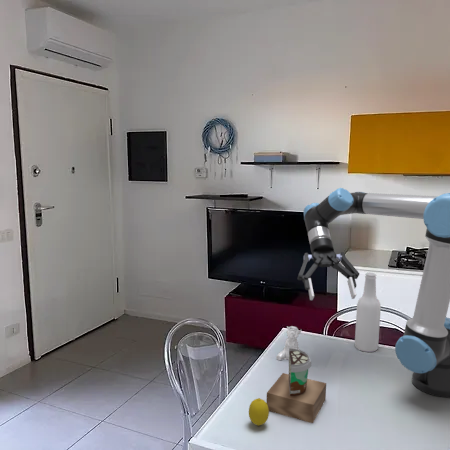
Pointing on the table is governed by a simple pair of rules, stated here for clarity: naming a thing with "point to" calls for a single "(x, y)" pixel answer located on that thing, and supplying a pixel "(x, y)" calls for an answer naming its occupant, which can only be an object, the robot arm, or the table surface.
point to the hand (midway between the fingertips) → (333, 297)
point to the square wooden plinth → (296, 399)
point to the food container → (298, 371)
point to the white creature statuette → (289, 343)
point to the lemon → (258, 411)
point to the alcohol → (368, 317)
